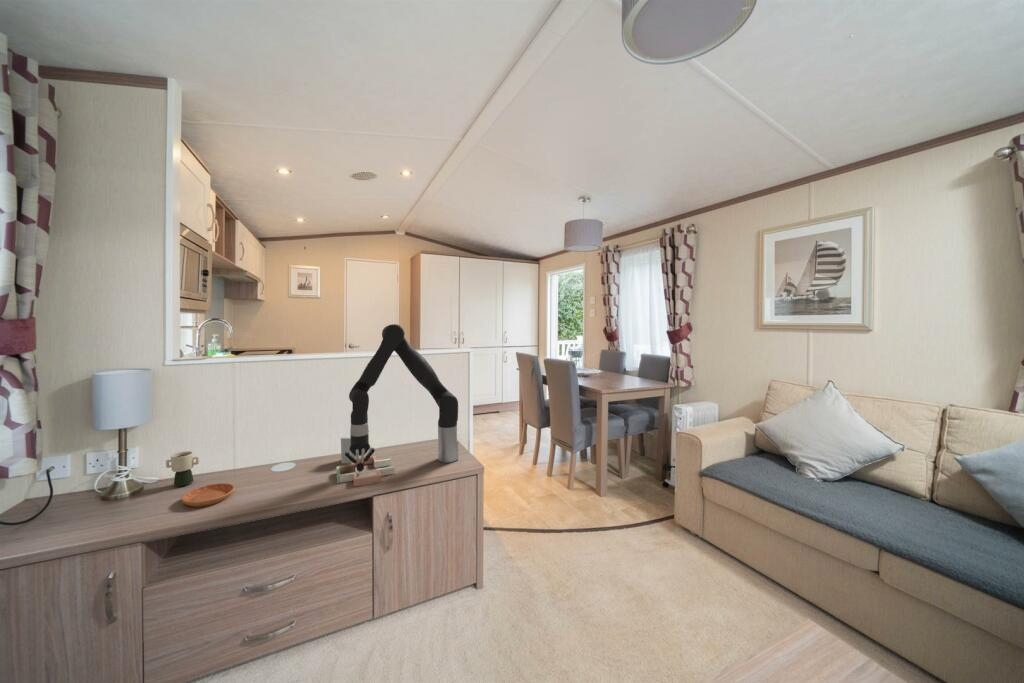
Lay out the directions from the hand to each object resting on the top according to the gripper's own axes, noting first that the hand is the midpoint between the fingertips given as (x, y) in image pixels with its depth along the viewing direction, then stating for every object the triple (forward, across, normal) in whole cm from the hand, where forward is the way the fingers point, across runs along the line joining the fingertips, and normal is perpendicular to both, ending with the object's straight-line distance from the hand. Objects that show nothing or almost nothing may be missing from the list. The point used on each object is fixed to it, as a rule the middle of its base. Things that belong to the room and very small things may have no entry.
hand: (360, 470), depth 172 cm
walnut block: (+2, +5, 0) cm, 5 cm away
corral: (+2, -2, 0) cm, 3 cm away
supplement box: (+2, +2, -18) cm, 18 cm away
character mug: (+2, +68, -19) cm, 70 cm away
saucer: (+2, +55, 0) cm, 55 cm away
